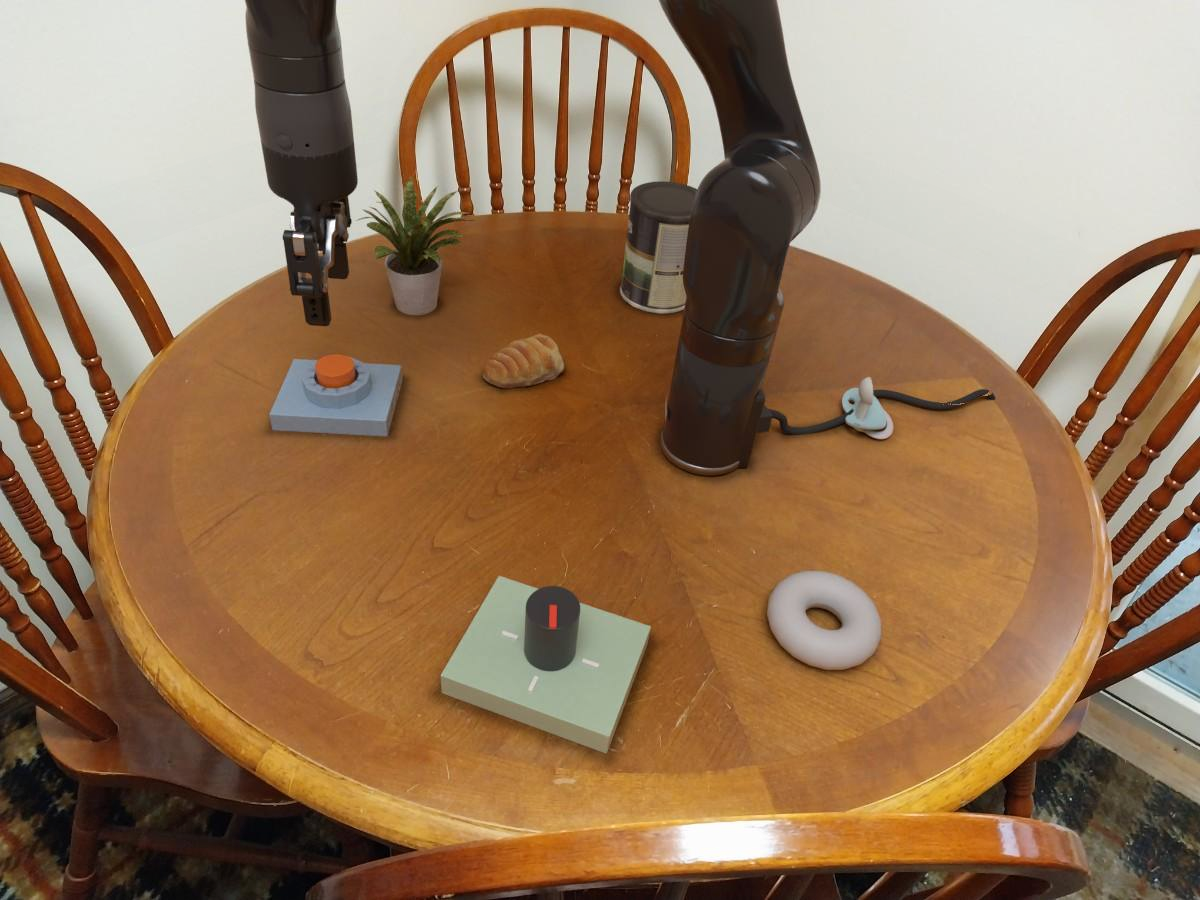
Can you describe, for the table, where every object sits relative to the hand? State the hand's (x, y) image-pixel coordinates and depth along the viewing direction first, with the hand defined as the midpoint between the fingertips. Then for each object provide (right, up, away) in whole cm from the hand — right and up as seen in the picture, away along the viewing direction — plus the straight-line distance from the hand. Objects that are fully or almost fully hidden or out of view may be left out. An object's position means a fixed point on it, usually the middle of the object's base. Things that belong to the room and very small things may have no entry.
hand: (328, 299), depth 82 cm
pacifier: (+57, -12, +17) cm, 61 cm away
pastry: (+17, -6, +19) cm, 26 cm away
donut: (+46, -31, -6) cm, 56 cm away
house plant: (+2, +3, +27) cm, 27 cm away
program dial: (+22, -31, -14) cm, 40 cm away
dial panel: (+22, -33, -12) cm, 41 cm away
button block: (-2, -10, +11) cm, 15 cm away
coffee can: (+34, +7, +35) cm, 49 cm away
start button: (-2, -7, +9) cm, 12 cm away
